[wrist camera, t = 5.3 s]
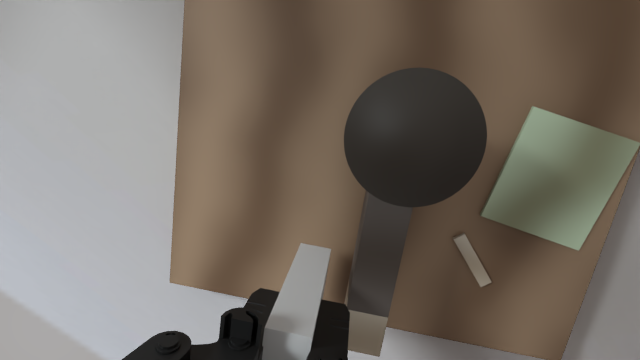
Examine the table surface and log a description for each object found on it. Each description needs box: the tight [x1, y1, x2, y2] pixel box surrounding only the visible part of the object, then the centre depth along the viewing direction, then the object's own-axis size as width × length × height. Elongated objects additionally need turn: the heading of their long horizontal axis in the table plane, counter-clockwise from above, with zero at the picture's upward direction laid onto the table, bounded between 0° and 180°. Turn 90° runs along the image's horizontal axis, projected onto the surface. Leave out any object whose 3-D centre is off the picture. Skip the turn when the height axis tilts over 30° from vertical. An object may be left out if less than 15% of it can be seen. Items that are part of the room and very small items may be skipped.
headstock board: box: [170, 0, 640, 360], centre depth 18 cm, size 22×20×2 cm
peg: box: [344, 67, 487, 357], centre depth 15 cm, size 12×4×6 cm, turn 171°
